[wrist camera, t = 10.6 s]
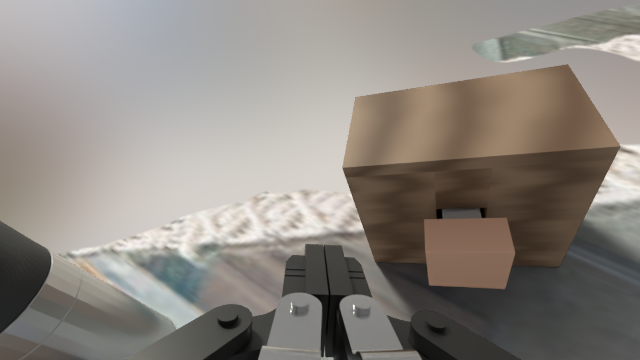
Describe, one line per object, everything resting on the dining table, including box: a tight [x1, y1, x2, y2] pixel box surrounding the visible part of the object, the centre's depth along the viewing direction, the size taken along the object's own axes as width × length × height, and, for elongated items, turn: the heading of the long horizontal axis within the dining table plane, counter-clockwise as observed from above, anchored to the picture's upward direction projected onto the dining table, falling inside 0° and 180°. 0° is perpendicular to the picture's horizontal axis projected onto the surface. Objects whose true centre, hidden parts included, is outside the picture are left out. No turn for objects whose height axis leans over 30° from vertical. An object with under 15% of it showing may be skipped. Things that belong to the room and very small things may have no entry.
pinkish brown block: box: [424, 208, 515, 289], centre depth 28 cm, size 6×9×6 cm, turn 167°
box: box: [342, 65, 620, 267], centre depth 31 cm, size 18×10×16 cm, turn 77°
